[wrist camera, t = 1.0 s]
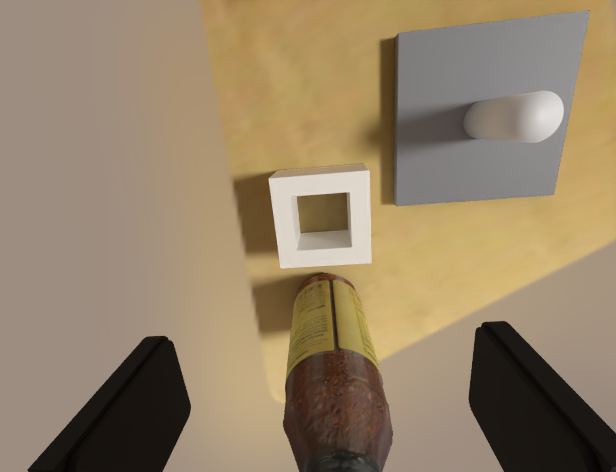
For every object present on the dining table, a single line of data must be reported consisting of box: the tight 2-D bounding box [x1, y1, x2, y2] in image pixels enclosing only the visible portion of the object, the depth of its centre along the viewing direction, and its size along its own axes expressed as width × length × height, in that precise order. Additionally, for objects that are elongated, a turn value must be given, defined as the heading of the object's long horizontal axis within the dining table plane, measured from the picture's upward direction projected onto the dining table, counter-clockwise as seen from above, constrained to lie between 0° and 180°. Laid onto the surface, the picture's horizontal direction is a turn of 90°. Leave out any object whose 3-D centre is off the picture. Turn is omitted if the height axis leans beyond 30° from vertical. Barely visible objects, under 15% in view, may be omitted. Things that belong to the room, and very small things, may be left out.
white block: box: [269, 163, 371, 268], centre depth 24 cm, size 7×7×4 cm
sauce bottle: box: [283, 274, 393, 472], centre depth 19 cm, size 7×6×20 cm
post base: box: [394, 10, 590, 206], centre depth 19 cm, size 12×12×7 cm
